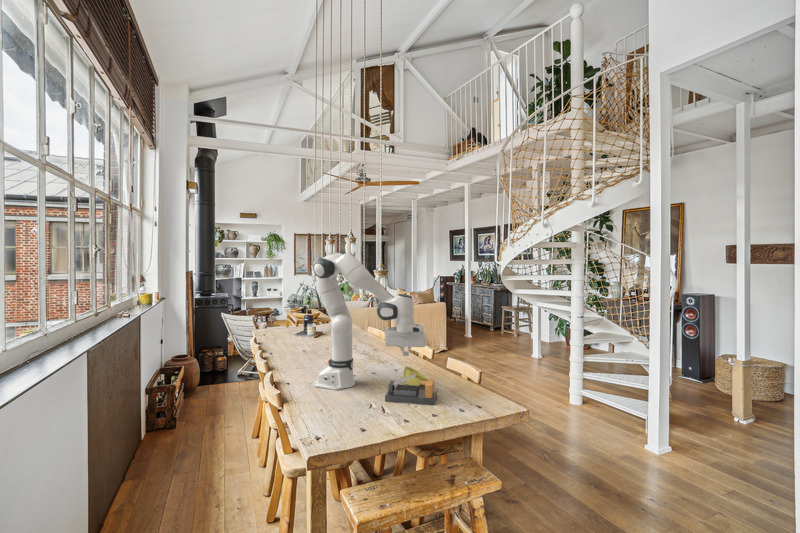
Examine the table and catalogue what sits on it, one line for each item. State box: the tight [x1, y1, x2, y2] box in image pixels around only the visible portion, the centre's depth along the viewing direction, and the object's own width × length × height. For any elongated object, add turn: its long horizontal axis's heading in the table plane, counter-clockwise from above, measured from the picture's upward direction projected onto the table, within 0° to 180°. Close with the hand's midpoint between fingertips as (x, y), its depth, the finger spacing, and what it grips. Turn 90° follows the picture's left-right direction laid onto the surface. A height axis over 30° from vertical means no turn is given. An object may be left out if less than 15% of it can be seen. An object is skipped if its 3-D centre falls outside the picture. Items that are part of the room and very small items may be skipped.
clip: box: [420, 378, 435, 398], centre depth 191 cm, size 6×10×6 cm, turn 168°
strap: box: [391, 374, 416, 386], centre depth 193 cm, size 14×2×1 cm, turn 77°
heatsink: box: [384, 380, 438, 406], centre depth 192 cm, size 24×11×8 cm, turn 78°
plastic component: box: [403, 365, 430, 387], centre depth 216 cm, size 20×7×10 cm
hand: (405, 355), depth 192 cm, fingers closed
